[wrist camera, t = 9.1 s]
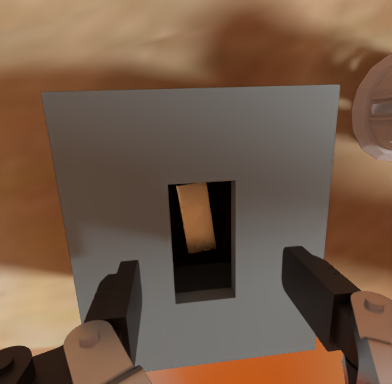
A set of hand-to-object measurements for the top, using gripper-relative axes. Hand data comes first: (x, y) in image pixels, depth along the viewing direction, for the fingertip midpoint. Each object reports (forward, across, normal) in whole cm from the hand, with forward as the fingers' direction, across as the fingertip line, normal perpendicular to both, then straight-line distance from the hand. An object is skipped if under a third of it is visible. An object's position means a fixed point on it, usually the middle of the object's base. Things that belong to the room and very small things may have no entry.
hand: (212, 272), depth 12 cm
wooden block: (+13, 0, 0) cm, 13 cm away
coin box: (+13, 0, 0) cm, 13 cm away
